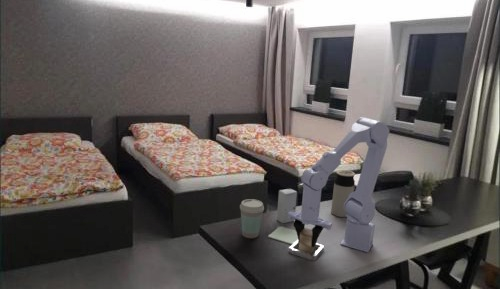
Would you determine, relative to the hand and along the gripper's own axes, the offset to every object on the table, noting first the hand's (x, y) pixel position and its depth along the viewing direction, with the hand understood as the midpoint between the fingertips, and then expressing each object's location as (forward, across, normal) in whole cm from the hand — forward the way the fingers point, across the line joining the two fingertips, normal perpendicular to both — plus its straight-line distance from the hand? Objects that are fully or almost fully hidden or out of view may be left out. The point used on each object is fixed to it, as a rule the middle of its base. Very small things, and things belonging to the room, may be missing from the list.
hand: (307, 243), depth 125 cm
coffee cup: (+3, -21, -1) cm, 21 cm away
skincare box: (+3, -16, +18) cm, 24 cm away
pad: (+3, -10, +6) cm, 12 cm away
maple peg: (+3, 0, 0) cm, 3 cm away
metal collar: (+3, 0, 0) cm, 3 cm away
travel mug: (+3, 0, +38) cm, 38 cm away
